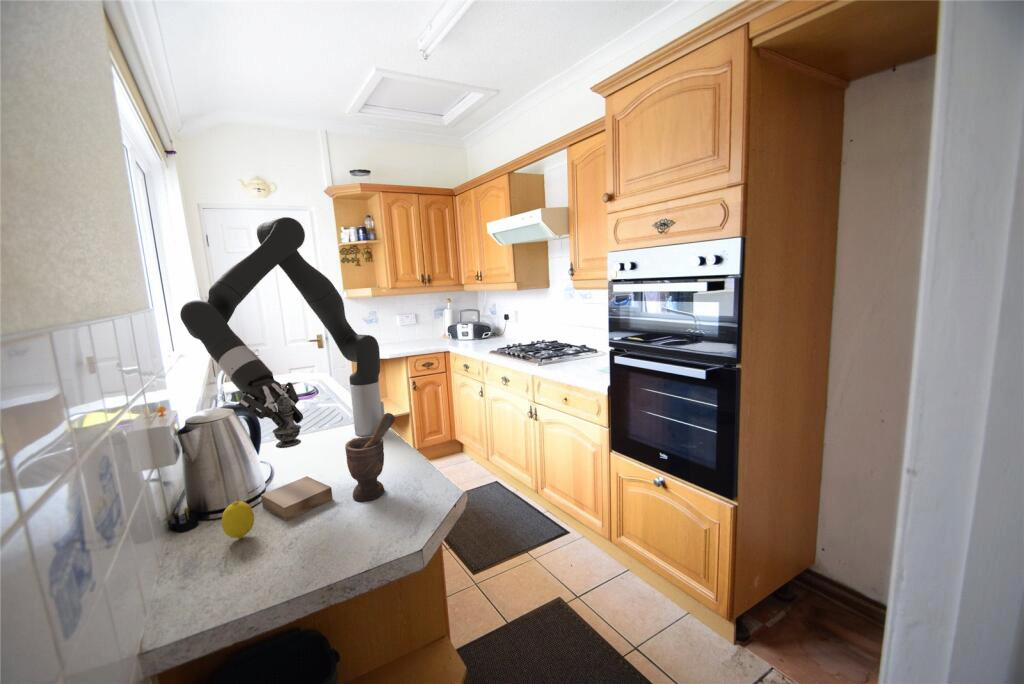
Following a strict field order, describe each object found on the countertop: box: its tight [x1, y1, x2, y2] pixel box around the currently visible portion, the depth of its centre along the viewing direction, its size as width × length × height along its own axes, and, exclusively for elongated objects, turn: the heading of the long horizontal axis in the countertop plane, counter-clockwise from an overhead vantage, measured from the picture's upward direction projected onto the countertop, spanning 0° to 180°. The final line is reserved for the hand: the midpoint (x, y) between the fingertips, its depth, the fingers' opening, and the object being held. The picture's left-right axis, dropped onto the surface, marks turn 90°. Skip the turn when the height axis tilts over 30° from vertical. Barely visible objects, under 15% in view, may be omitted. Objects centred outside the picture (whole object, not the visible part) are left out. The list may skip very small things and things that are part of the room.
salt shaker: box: [272, 394, 302, 449], centre depth 101 cm, size 6×6×12 cm
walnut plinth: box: [260, 476, 334, 521], centre depth 103 cm, size 11×11×3 cm
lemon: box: [221, 500, 255, 539], centre depth 89 cm, size 6×6×8 cm
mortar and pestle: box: [344, 412, 396, 502], centre depth 105 cm, size 12×9×20 cm
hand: (293, 423), depth 100 cm, fingers closed on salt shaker, 3 cm apart
